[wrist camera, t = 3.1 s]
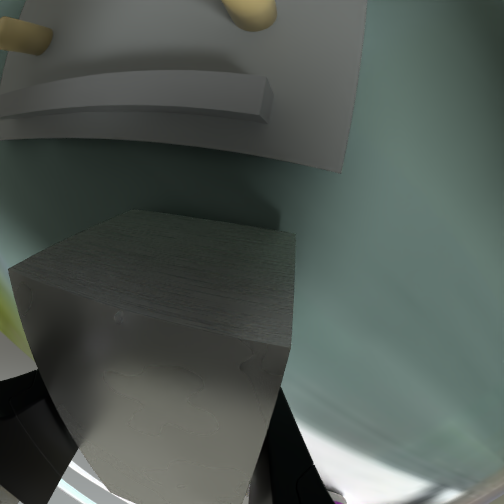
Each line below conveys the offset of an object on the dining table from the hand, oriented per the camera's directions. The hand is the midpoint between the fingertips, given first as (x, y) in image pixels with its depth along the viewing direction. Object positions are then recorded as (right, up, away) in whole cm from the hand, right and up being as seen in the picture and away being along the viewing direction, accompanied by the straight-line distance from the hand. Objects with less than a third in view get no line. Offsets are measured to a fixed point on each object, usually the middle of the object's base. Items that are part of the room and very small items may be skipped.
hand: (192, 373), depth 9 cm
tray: (-1, +15, -3) cm, 16 cm away
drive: (0, 0, +1) cm, 1 cm away
